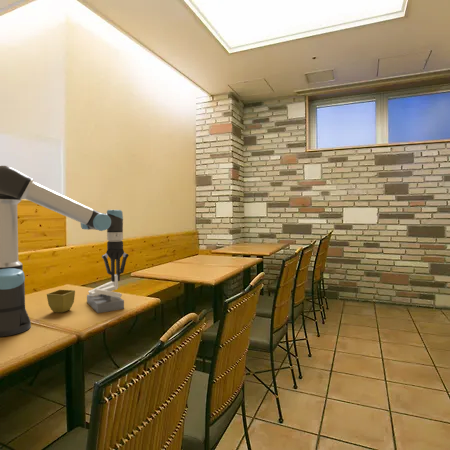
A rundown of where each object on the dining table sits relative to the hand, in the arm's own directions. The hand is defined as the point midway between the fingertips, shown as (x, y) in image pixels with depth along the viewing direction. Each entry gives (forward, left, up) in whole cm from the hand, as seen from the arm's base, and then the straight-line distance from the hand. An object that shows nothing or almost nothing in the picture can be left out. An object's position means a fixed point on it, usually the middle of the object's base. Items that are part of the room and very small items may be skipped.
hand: (115, 287), depth 166 cm
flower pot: (-24, +2, -8) cm, 26 cm away
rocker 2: (-5, 0, -1) cm, 5 cm away
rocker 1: (-5, +6, -1) cm, 8 cm away
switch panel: (-5, 0, -8) cm, 10 cm away
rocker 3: (-5, -7, -1) cm, 8 cm away
